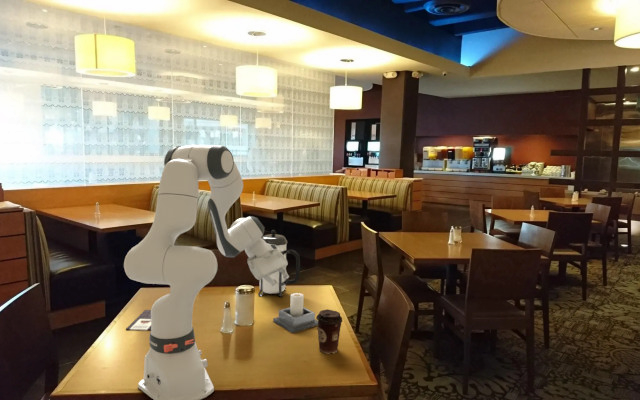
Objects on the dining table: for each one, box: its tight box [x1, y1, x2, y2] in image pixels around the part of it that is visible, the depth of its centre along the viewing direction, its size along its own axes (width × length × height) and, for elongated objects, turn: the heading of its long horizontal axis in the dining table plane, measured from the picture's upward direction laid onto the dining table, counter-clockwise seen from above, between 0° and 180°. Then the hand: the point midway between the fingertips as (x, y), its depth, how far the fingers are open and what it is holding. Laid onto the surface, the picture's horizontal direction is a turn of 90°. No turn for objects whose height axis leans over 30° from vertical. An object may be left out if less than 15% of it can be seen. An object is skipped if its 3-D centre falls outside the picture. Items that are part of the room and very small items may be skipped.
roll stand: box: [272, 306, 318, 334], centre depth 162 cm, size 13×13×5 cm
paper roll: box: [289, 292, 305, 317], centre depth 162 cm, size 5×5×10 cm
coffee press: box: [257, 229, 301, 298], centre depth 195 cm, size 17×16×30 cm
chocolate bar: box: [125, 309, 151, 332], centre depth 161 cm, size 9×1×18 cm
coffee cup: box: [315, 309, 343, 355], centre depth 141 cm, size 9×8×13 cm
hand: (281, 281), depth 163 cm, fingers open, 8 cm apart
